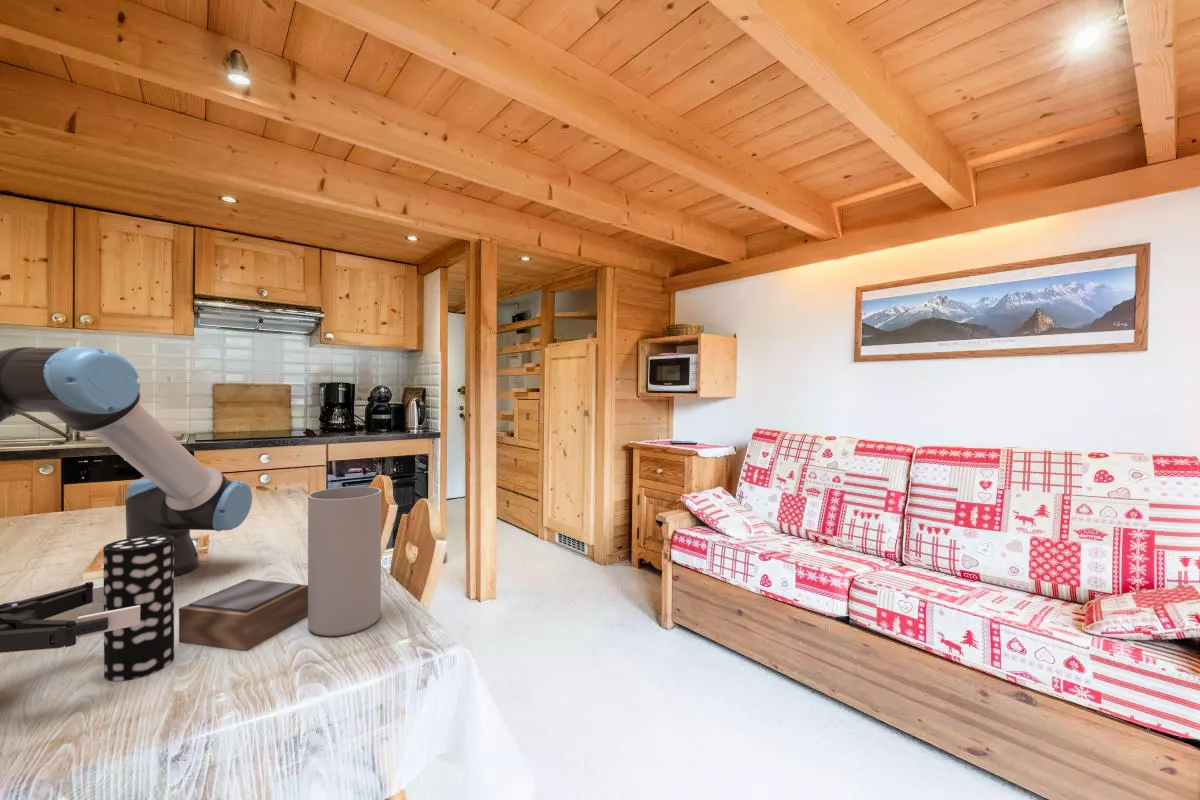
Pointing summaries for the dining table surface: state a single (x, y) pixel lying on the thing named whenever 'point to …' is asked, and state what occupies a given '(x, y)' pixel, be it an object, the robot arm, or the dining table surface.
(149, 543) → the spotted tube
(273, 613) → the display pedestal
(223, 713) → the dining table surface
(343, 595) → the cylinder vase
